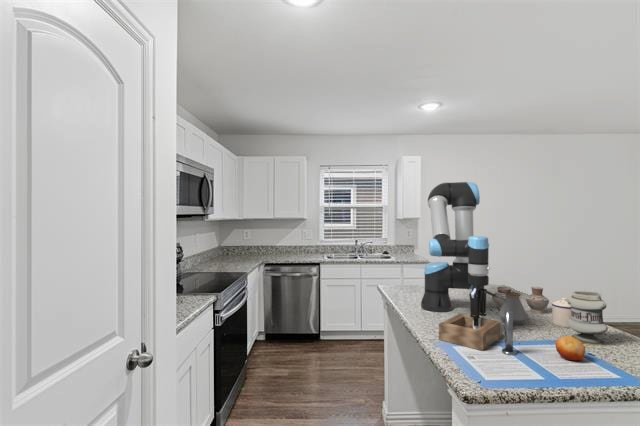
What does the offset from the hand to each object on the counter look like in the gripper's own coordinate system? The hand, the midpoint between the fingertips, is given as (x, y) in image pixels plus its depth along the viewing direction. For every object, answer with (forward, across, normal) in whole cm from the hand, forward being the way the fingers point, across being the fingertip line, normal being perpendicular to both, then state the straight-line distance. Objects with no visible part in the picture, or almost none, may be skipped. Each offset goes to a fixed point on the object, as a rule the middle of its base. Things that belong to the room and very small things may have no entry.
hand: (478, 332), depth 140 cm
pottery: (0, +50, -3) cm, 50 cm away
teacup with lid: (0, +38, -23) cm, 44 cm away
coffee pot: (0, +23, -2) cm, 23 cm away
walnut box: (0, -8, 0) cm, 9 cm away
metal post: (0, -14, -15) cm, 20 cm away
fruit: (0, -5, -31) cm, 31 cm away
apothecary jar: (0, +20, -33) cm, 38 cm away
